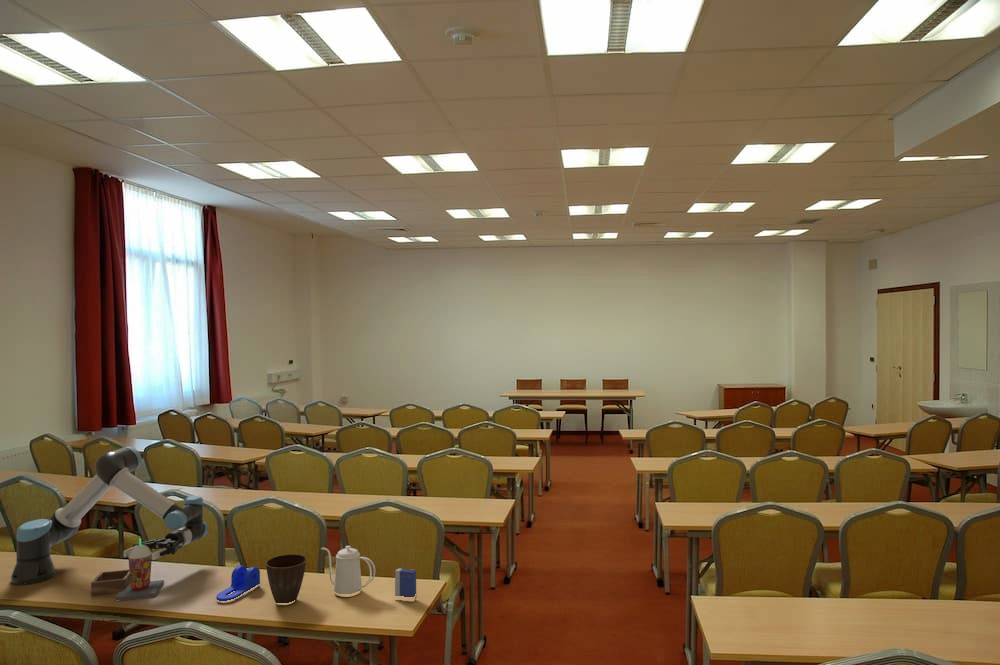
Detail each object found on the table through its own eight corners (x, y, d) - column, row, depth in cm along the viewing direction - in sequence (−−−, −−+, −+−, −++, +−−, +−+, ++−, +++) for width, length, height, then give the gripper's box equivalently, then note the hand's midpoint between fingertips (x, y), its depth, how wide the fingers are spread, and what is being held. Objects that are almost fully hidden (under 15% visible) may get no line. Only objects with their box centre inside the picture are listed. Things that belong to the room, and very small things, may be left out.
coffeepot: (327, 584, 255) (327, 538, 256) (381, 591, 248) (381, 544, 248) (312, 594, 245) (312, 547, 245) (367, 602, 238) (367, 553, 238)
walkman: (416, 600, 240) (416, 569, 240) (413, 602, 237) (413, 571, 237) (397, 597, 242) (397, 567, 242) (394, 600, 239) (394, 569, 239)
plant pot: (287, 591, 248) (287, 551, 248) (314, 598, 241) (314, 557, 241) (257, 605, 235) (257, 563, 235) (285, 613, 228) (285, 570, 228)
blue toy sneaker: (243, 584, 255) (243, 563, 255) (259, 586, 253) (260, 565, 253) (211, 602, 238) (211, 579, 238) (229, 605, 236) (229, 581, 236)
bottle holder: (101, 584, 256) (101, 572, 256) (133, 580, 259) (133, 568, 259) (90, 595, 244) (90, 582, 244) (124, 591, 248) (125, 579, 248)
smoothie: (123, 590, 245) (123, 540, 245) (141, 582, 253) (141, 534, 253) (138, 593, 242) (138, 543, 242) (156, 585, 250) (156, 536, 250)
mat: (125, 587, 252) (125, 583, 252) (163, 583, 256) (163, 579, 256) (115, 601, 239) (115, 597, 239) (155, 596, 243) (155, 593, 243)
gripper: (202, 549, 264) (164, 567, 243) (153, 545, 270) (112, 562, 249) (202, 532, 264) (164, 548, 243) (153, 528, 270) (112, 543, 249)
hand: (138, 555), depth 246 cm, fingers open, 13 cm apart
